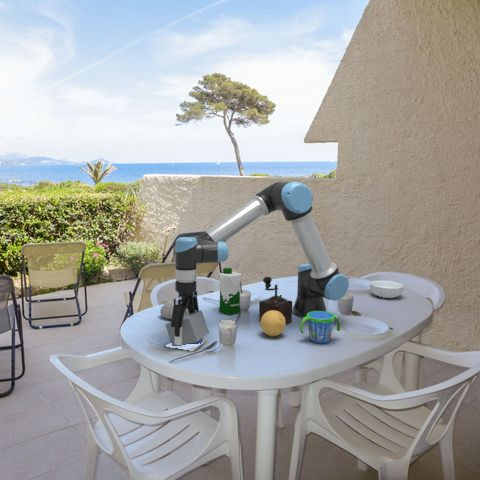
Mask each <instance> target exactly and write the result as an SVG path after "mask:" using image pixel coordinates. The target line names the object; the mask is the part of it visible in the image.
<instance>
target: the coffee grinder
mask: <svg viewBox="0 0 480 480" xmlns="http://www.w3.org/2000/svg"><path fill="white" fill-rule="evenodd" d="M272 279H273V278H272V277H271V276H265V277H263V278H262V281H263V283H264V284H265V285H264V287H265V288H264V289H265V291H274V295H273V296H271V297H269V298H266V299H262V300H260V301H259V302H258V303H259V306H258V307H259V308H258V309H259V312H258V314H259V315H258V317H259V319H258V322H259V323H260V322H261V318H262V316H263V315H264V314H265V313H266V312H268V311H271V310H275V311H279V312H281V314H282V315H283V316H284V317H285V319H286V320H285V321H286V325H289V324H291V323H292V322H293V300H289V299H287V298H284V297H283V296H282V294H280V295H278V289H279V288H278V286H279V285H278V284H274V288H271V287H272V284H271V282H272Z"/></svg>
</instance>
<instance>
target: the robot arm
mask: <svg viewBox="0 0 480 480" xmlns="http://www.w3.org/2000/svg"><path fill="white" fill-rule="evenodd" d="M313 195H314V194H313V192H312V189H310V187H308V185H306V184H304V183H301V182H298V181H290V182H289V181H276V182H274V183H271V184H270V185H268V186H266V187H265V188H264V189H262V190H260V191H259V192H257V193H256V194H255V195H253V197H252V200H250V201H249V202H247V203H246V204H245V205H243V206H241V207H240V208H239V209H237V210H236V211H234V212H233V213H231V214H230V215H228V216H227V217H225V218H224V219H222V220H221V221H219V222H218V223H216V224H214V226H212V227H211V228H209V229H208V230H207V231H204V232H203V233H201V234H200V235H197V236H193V237H191V236H189V237H188V236H182V237H181V236H180V237H178V238H177V239H176V240H175V248H174V253H175V256H174V257H175V270H174V273H175V280H176V281H175V282H174V283H175V286H174V287H175V292H176V293H178V296H177V298H173V299H174V307H173V314H172V320H170V322H171V327H174V328H175V345H182V327H181V324H182V320H183V317H184V313H185V310H186V309H188V312H189V314H190V313H194V312H197V311H200V309H199V307H200V306H199V302H198V301H199V300H198V291H197V265H198V264H206V263H207V264H210V263H211V264H214V263H222V262H223V263H224V262H226V261H227V260H228V258H229V254H230V253H229V246H228V244H227V243H226V241H227V240H229V239H230V238H232V237H233V236H235V235H236V234H237V233H239V232H240V231H242V230H244V229H245V228H246V227H248V226H249V225H250V224H252V223H253V222H255V221H256V220H258V219H259V218H261V217H262V216H268V215H269V214H270V213H273V212H276V211H281V213H282V215H283V216H284V219H285V221H287V222H289V223H291V226H292V227H293V230H294V233H295V235H296V237H297V239H298V242H299V244H300V246H301V248H302V250H303V253H304V254H305V257H306V259H307V261H308V263H302V264H300V265H299V266H298V267H297V269H298V270H297V294H296V295H297V297H296V299H295V302H294V304H293V306H292V314H294V315H295V316H297V317H300V318H304V317H306V316H307V313H309V312H312V311H325V312H327V307H326V303H325V299H327V300H330V301H334V302H335V301H339V300H341V299H342V298H344V297H345V296H346V294H347V292H348V290H349V285H350V284H349V278H348V277H347V276H346V275H345V274H343V273H341V272H340V270H339V268H338V265H337V264H336V263H335V262H332V261H331V259H330V256H329V253H328V251H327V249H326V246H325V244H324V242H323V239H322V237H321V235H320V232H319V230H318V228H317V225H316V223H315V220H314V218H313V216H312V212H313V209H314V208H313V201H314V196H313ZM324 298H325V299H324Z"/></svg>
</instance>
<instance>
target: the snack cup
mask: <svg viewBox="0 0 480 480" xmlns="http://www.w3.org/2000/svg"><path fill="white" fill-rule="evenodd" d="M335 319H337V321H336V331H337V332H340V331H341V328H342V327H341V326H342V325H341V320H340V318H339V317H338V316H336V315H335V314H334V313H332V312H330V311H326V312H325V311H312V312H309V313H307V316H306V317H302V320H301V321H300V326H299V328H300V333H301V334H304V323H305V322H306V321H307V325H308V333H309V339H310V341H311V342H313V343H314V344H327V343H330V340H331V338H332V333H333V327H334V322H335Z"/></svg>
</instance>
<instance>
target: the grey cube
mask: <svg viewBox="0 0 480 480" xmlns="http://www.w3.org/2000/svg"><path fill="white" fill-rule="evenodd" d="M164 326H165V328H166V332H167V334H168V337H169V339H170V342H171V343H172V346H182V345H186V344H190V343H194V342H197V341H199V340H200V339H201V338H203V339H204V337H206V335H208V334H209V333H210V330H209V327H208V325H207V323H206V320H205V316H204V314H203V310H202V309H201V310H200V309H199V311H197V312H194V313H190V314H186V315H184V317H183V320H182V324H181V327H182V345H175V328H174V327H171V321H169V322H167V323H165V325H164Z"/></svg>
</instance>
